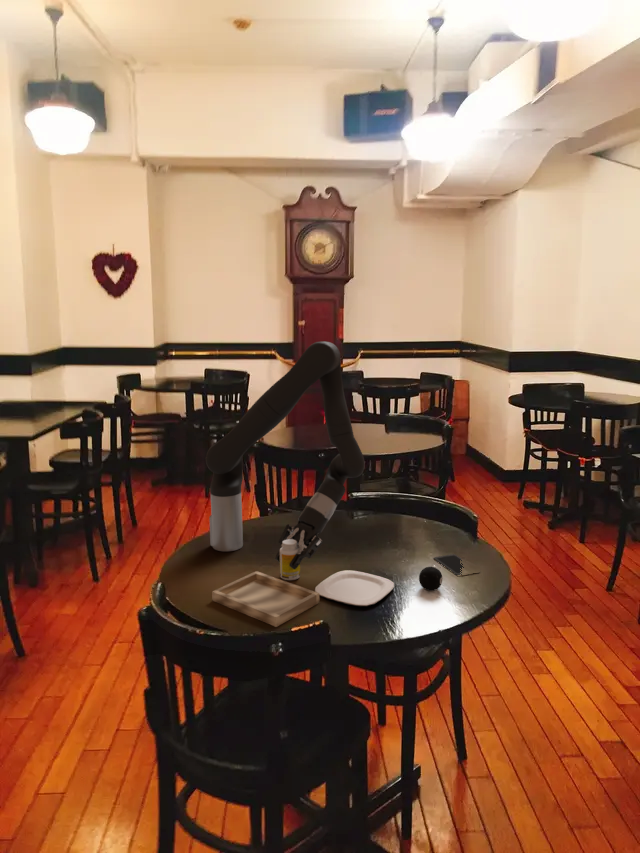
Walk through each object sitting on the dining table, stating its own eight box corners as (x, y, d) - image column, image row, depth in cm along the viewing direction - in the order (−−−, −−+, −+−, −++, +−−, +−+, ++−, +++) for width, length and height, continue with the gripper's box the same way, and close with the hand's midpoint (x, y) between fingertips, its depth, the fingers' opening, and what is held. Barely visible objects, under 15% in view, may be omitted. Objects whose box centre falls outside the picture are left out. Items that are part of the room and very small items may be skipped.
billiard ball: (437, 596, 173) (438, 574, 172) (415, 591, 176) (416, 569, 175) (445, 587, 178) (445, 565, 177) (423, 582, 181) (424, 561, 180)
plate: (368, 614, 164) (369, 608, 164) (306, 597, 174) (306, 591, 174) (401, 587, 179) (401, 581, 179) (342, 572, 189) (342, 566, 188)
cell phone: (458, 578, 184) (458, 575, 184) (432, 559, 197) (432, 557, 197) (481, 574, 187) (481, 571, 187) (454, 555, 200) (454, 553, 200)
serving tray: (212, 600, 171) (212, 591, 171) (256, 579, 184) (256, 571, 183) (276, 627, 158) (276, 617, 157) (319, 602, 170) (319, 593, 169)
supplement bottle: (303, 578, 184) (303, 543, 182) (284, 582, 182) (284, 546, 180) (295, 571, 189) (294, 536, 187) (277, 575, 186) (276, 540, 184)
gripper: (294, 499, 192) (260, 550, 186) (327, 511, 181) (293, 565, 176) (308, 513, 196) (276, 563, 191) (342, 526, 185) (309, 579, 180)
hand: (284, 564), depth 183 cm, fingers closed on supplement bottle, 5 cm apart
